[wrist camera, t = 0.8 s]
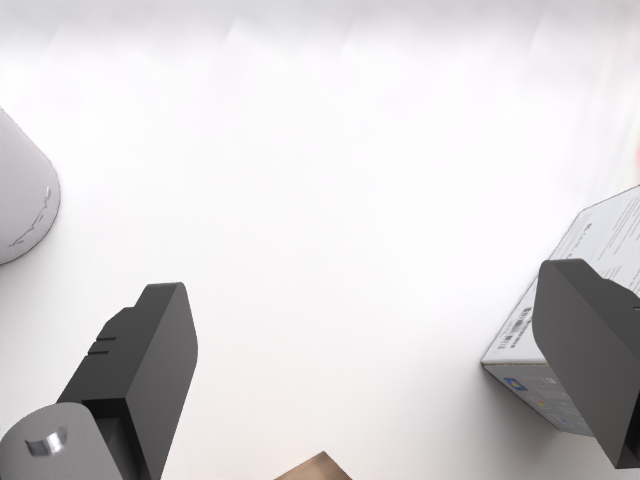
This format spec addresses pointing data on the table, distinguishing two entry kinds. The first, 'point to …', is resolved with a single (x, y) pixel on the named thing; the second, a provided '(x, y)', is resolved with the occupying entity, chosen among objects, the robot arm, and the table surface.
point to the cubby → (316, 470)
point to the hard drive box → (516, 335)
